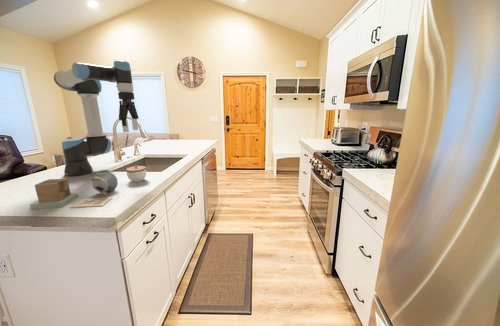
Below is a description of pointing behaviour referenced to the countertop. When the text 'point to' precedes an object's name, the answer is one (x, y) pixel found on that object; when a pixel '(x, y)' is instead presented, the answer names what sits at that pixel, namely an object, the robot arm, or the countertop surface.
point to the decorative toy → (104, 182)
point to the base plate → (54, 202)
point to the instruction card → (91, 202)
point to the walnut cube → (52, 190)
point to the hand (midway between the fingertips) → (131, 131)
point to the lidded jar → (136, 173)
